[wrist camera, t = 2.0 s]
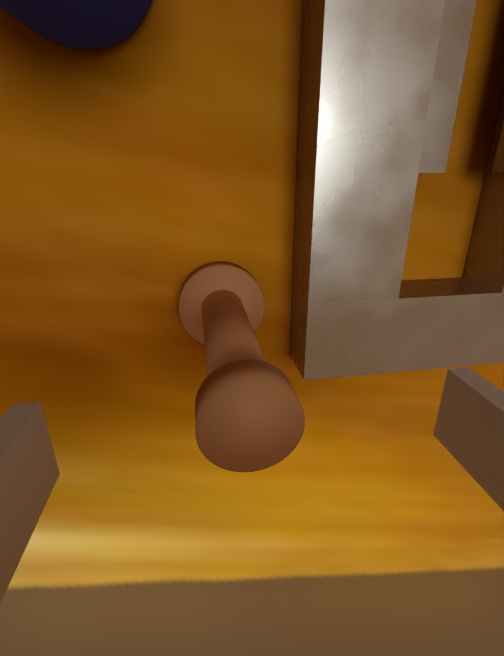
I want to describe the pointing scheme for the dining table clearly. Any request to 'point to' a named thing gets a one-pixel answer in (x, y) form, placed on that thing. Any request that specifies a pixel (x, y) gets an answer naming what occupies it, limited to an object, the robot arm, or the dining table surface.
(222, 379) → the headed peg
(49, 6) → the mug
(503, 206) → the keyhole plate
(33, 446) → the robot arm
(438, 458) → the dining table surface
